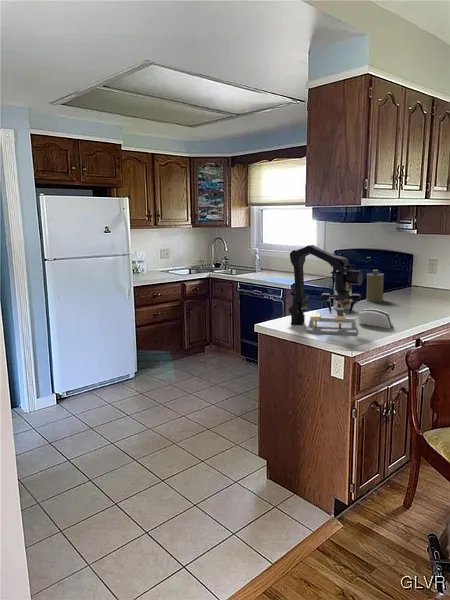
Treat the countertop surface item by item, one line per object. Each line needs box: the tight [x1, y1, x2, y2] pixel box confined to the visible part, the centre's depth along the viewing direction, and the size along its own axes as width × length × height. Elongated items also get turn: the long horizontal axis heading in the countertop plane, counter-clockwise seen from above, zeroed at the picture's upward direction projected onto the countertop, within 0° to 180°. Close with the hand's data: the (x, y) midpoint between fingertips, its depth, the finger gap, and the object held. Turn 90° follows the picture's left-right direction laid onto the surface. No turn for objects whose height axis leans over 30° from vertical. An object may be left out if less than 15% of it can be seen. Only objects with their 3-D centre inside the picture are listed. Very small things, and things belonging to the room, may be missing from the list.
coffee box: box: [333, 281, 353, 310], centre depth 273 cm, size 9×6×16 cm
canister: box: [365, 269, 385, 303], centre depth 292 cm, size 11×10×20 cm
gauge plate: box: [305, 313, 358, 336], centre depth 226 cm, size 24×12×8 cm, turn 73°
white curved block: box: [358, 308, 394, 329], centre depth 233 cm, size 17×5×10 cm, turn 47°
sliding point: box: [335, 308, 346, 328], centre depth 226 cm, size 4×6×9 cm, turn 163°
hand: (340, 314), depth 225 cm, fingers open, 9 cm apart
